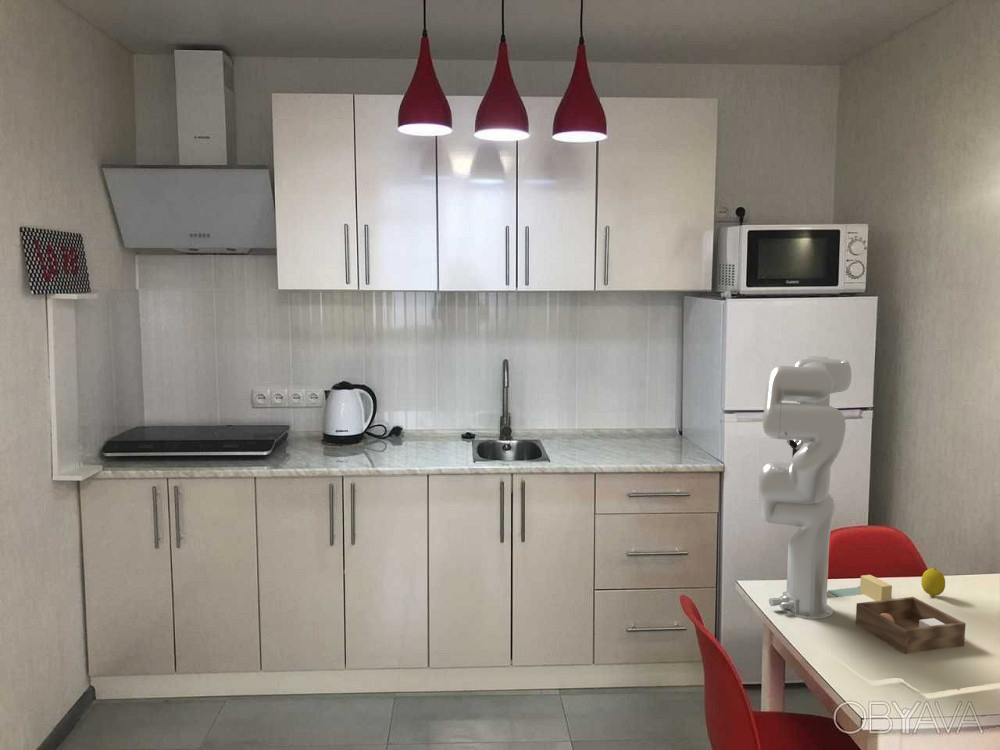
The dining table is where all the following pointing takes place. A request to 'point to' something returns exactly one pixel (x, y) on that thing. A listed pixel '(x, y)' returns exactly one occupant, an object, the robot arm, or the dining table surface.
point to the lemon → (933, 582)
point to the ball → (888, 616)
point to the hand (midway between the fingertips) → (812, 461)
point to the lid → (867, 589)
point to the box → (910, 625)
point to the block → (929, 622)
